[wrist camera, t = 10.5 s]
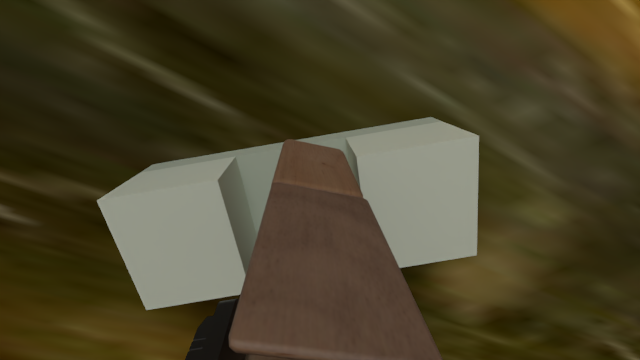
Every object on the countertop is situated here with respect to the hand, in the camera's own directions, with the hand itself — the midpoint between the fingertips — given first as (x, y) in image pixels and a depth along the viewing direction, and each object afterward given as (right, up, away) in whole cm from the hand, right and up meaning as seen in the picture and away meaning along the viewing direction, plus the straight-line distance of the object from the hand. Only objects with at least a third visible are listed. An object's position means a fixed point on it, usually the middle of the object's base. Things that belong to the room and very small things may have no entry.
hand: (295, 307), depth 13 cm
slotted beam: (-1, +5, +13) cm, 14 cm away
